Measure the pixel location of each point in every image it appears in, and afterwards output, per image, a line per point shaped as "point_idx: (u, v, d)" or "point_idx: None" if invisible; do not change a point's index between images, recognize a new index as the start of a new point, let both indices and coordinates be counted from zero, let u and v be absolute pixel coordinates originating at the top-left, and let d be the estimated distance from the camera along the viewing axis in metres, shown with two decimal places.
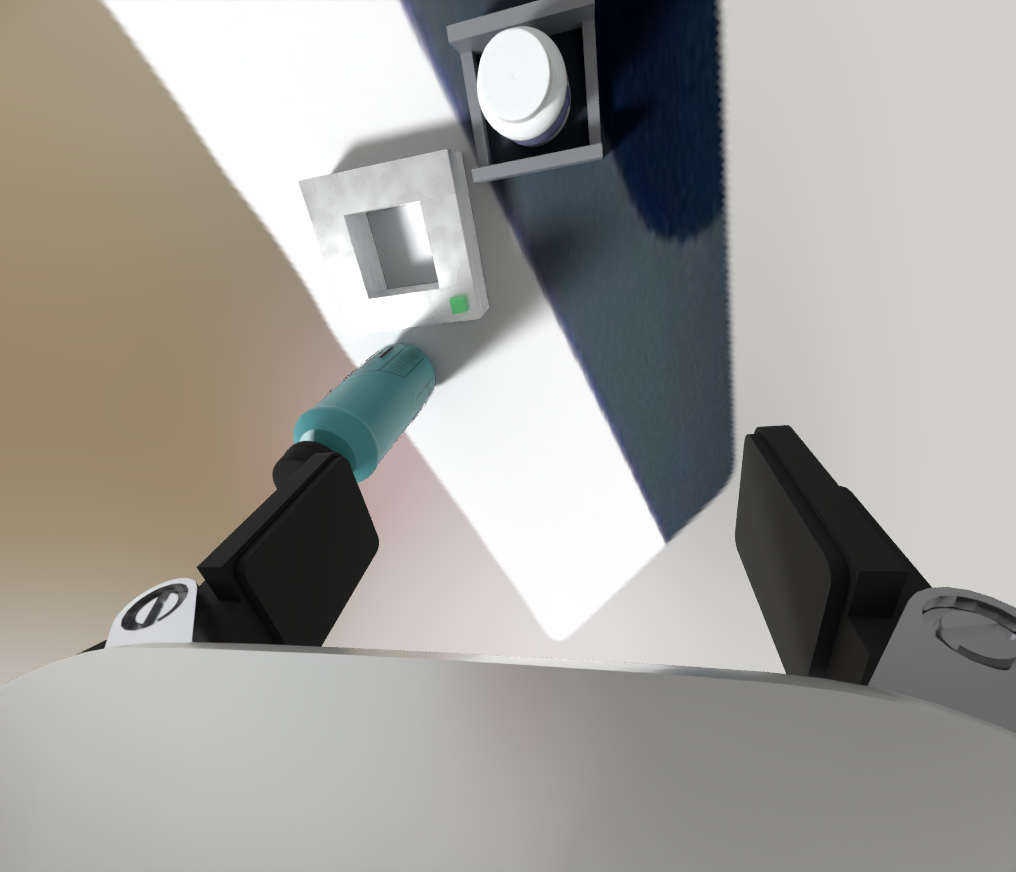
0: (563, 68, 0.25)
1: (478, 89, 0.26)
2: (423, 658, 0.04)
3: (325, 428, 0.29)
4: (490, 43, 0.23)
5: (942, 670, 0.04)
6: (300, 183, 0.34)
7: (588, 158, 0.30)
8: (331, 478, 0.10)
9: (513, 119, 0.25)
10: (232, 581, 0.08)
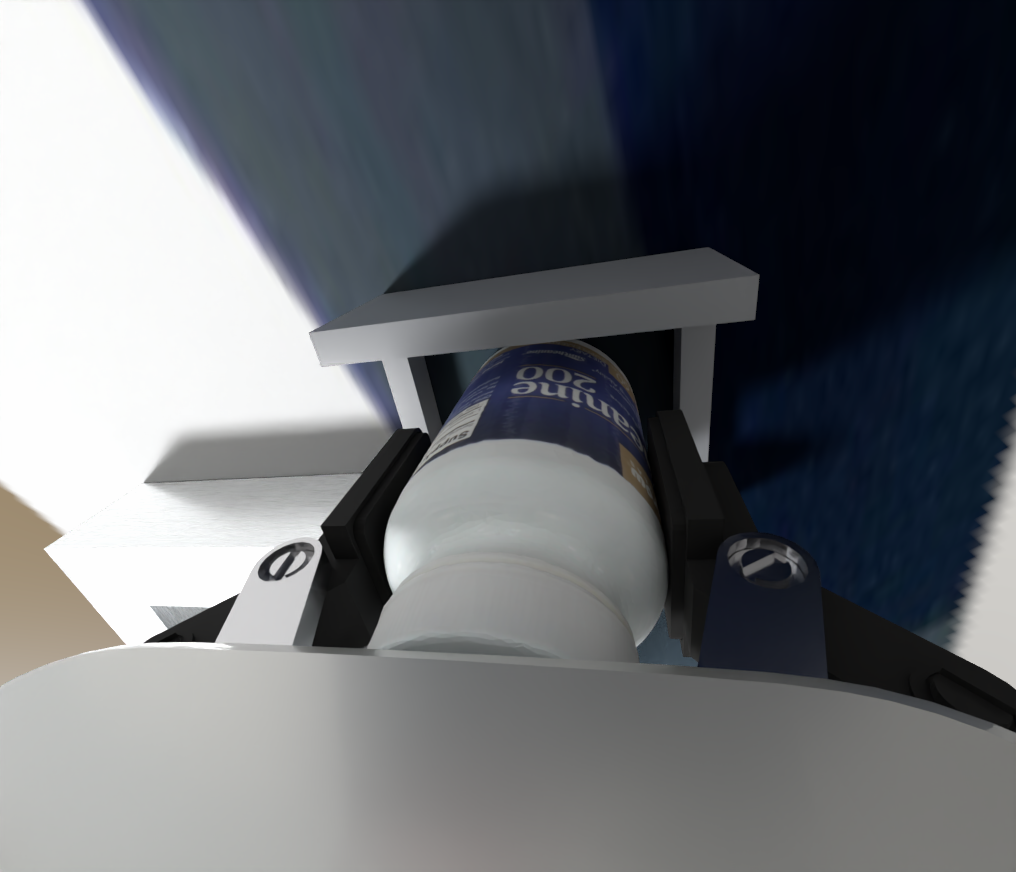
0: (665, 573, 0.07)
1: (388, 579, 0.08)
2: (423, 658, 0.04)
3: None
4: None
5: (748, 601, 0.06)
6: (49, 552, 0.16)
7: None
8: (418, 451, 0.11)
9: None
10: (352, 540, 0.08)
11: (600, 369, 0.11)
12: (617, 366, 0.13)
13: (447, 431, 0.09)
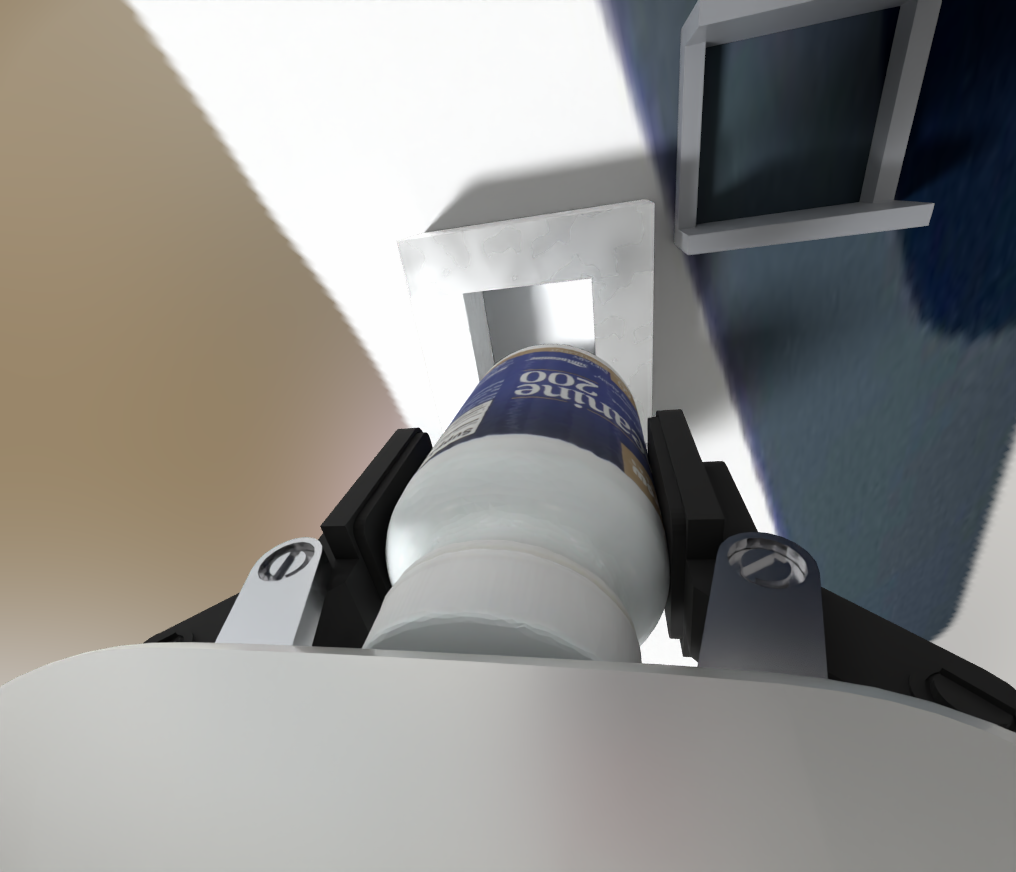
0: (666, 569, 0.07)
1: (389, 575, 0.08)
2: (423, 658, 0.04)
3: None
4: (391, 636, 0.05)
5: (748, 601, 0.06)
6: (399, 244, 0.22)
7: (901, 227, 0.18)
8: (418, 451, 0.11)
9: None
10: (352, 540, 0.08)
11: (602, 375, 0.11)
12: (619, 375, 0.13)
13: (451, 430, 0.09)
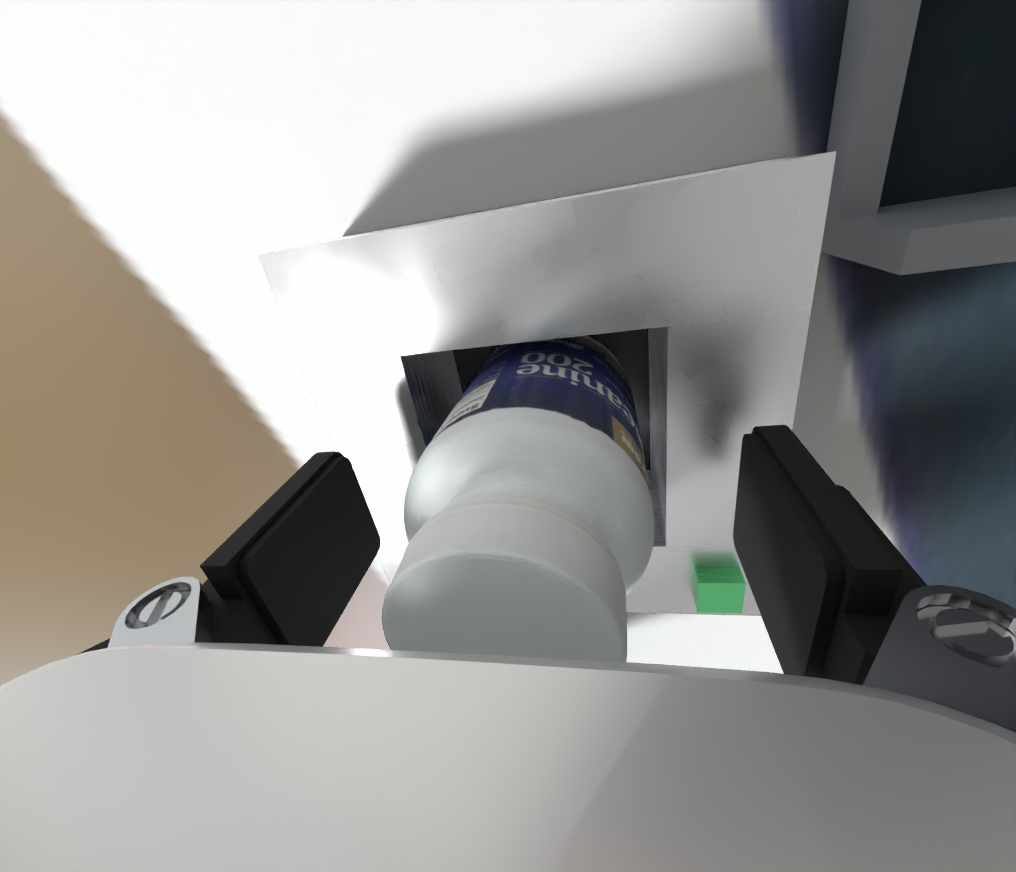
0: (650, 525, 0.09)
1: (407, 534, 0.10)
2: (423, 658, 0.04)
3: None
4: (415, 573, 0.07)
5: (936, 667, 0.04)
6: (265, 261, 0.10)
7: None
8: (333, 477, 0.10)
9: None
10: (235, 580, 0.08)
11: (597, 356, 0.12)
12: (613, 356, 0.14)
13: (460, 406, 0.10)
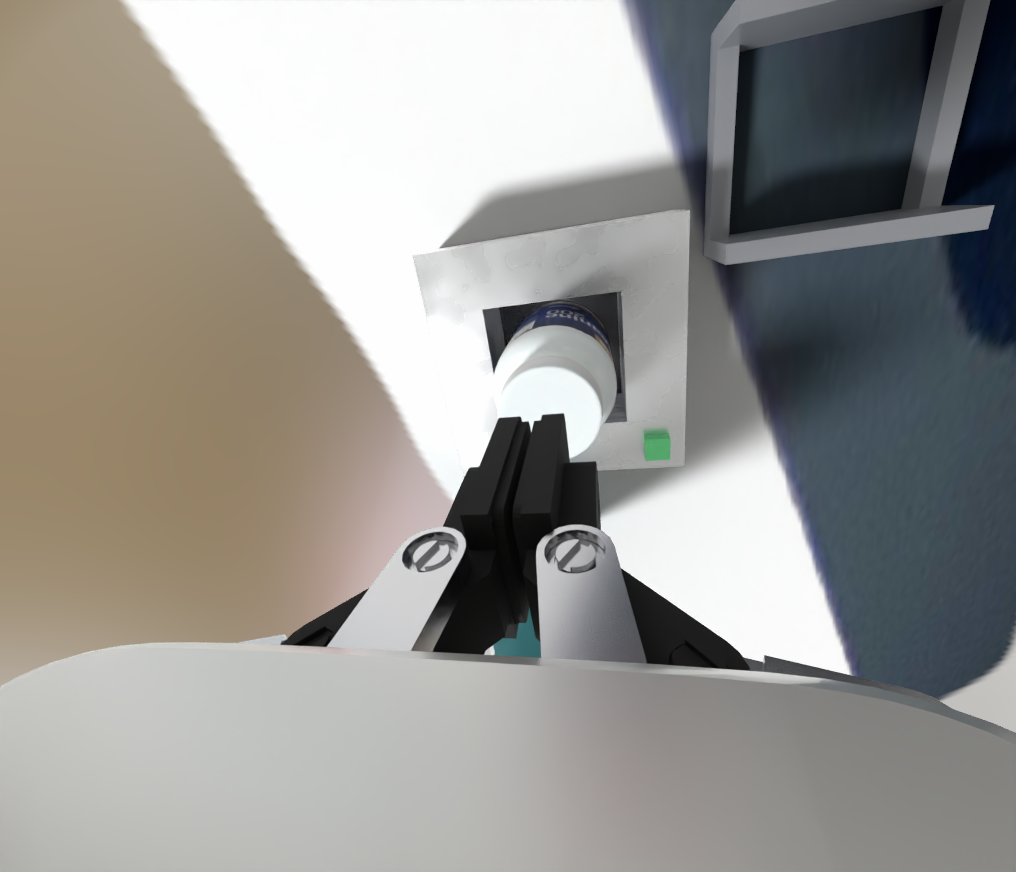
0: (614, 378, 0.18)
1: (495, 394, 0.19)
2: (423, 658, 0.04)
3: None
4: (515, 380, 0.16)
5: (569, 591, 0.06)
6: (415, 259, 0.20)
7: (958, 231, 0.17)
8: (525, 440, 0.10)
9: None
10: (490, 530, 0.08)
11: (587, 313, 0.22)
12: (596, 317, 0.24)
13: (518, 333, 0.20)
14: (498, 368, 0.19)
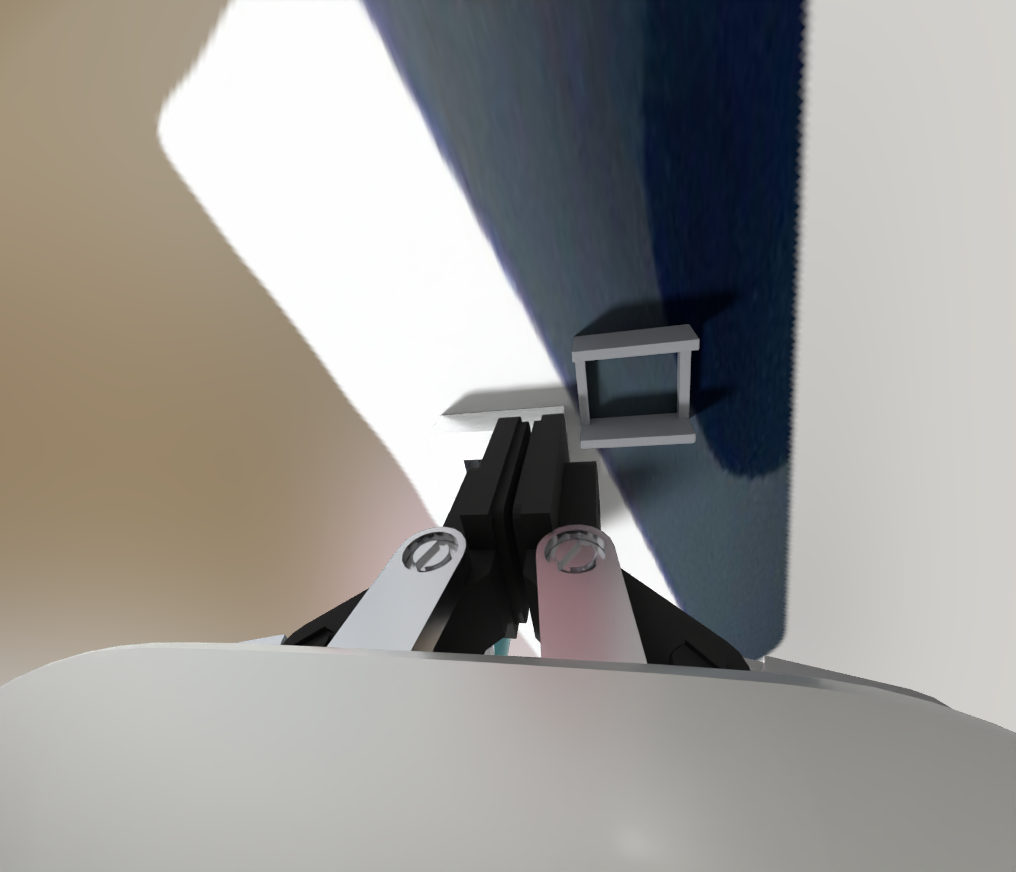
0: None
1: None
2: (423, 658, 0.04)
3: None
4: None
5: (569, 591, 0.06)
6: (428, 436, 0.40)
7: (682, 442, 0.36)
8: (525, 440, 0.10)
9: None
10: (490, 529, 0.08)
11: None
12: None
13: None
14: None
